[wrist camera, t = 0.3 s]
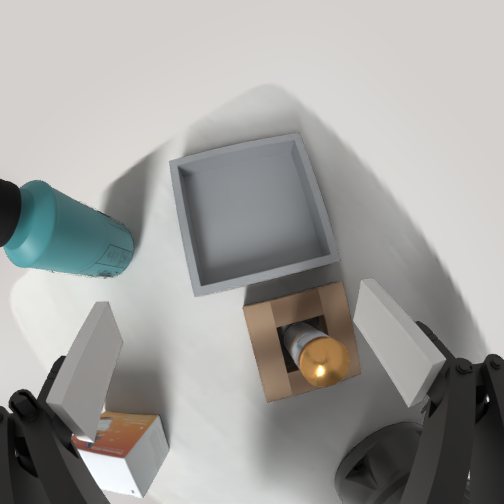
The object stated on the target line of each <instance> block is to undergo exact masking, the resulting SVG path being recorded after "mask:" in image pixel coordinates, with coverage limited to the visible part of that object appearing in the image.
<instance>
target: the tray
mask: <svg viewBox="0 0 504 504" xmlns="http://www.w3.org/2000/svg"><path fill="white" fill-rule="evenodd" d="M169 165H170V172H171V179H172V185H173V191H174V197H175V203H176V209H177V215H178V220H179V226H180V231H181V236H182V241H183V246H184V251H185V256H186V261H187V266H188V270H189V275H190V279H191V284H192V288H193V292H194V297H199V296H205V295H209V294H213V293H218V292H222V291H226V290H230V289H235V288H239V287H243V286H247V285H251V284H255V283H259V282H263V281H267V280H271V279H275V278H279V277H283V276H287V275H291V274H295V273H299V272H303V271H307V270H310V269H314V268H318V267H322V266H325V265H329V264H332V263H335V262H338V261H341V260H340V257H339V253H338V249H337V246H336V242H335V238H334V235H333V231H332V228H331V225H330V221H329V218H328V215H327V211H326V208H325V205H324V202H323V199H322V195H321V192H320V189H319V186H318V183H317V180H316V177H315V174H314V171H313V169H312V166H311V163H310V160H309V157H308V154H307V152H306V149H305V146H304V144H303V141H302V138H301V136H300V133H293V134H287V135H281V136H275V137H269V138H264V139H259V140H253V141H248V142H244V143H239V144H234V145H230V146H225V147H221V148H217V149H212V150H208V151H204V152H200V153H197V154H193V155H189V156H185V157H182V158H178V159H175V160H171V161H169Z"/></svg>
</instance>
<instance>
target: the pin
mask: <svg viewBox="0 0 504 504" xmlns="http://www.w3.org/2000/svg"><path fill="white" fill-rule="evenodd" d="M284 345H285V347H286V349H287V350H288V352H289V354H290V355H291V357H292V358H293V360H294V362H295V363H296V365H297V366H298V368H299V369H300V371H301V372H302V374H303V376H304V377H305V379H306V380H307V381H308V382H309V383H310V384H312V385H314V386H317V387H329V386H332V385H334V384H336V383H338V382H339V381H340V380H342V379H343V378H344V376H345V375H346V373H347V372H348V369H349V366H350V354H349V352H348V350H347V348H346V347H345V346H344V345H343V344H342V343H340V342H339V341H337V340H335V339H333V338H332V337H330V336H328V335H326V334H324V333H323V332H321V331H319V330H317V329H316V328H314V327H312V326H310V325H308V324H306V323H296V324H294V325H292V326H290V327H289V328H288V329H287V331H286V333H285V335H284Z"/></svg>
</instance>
